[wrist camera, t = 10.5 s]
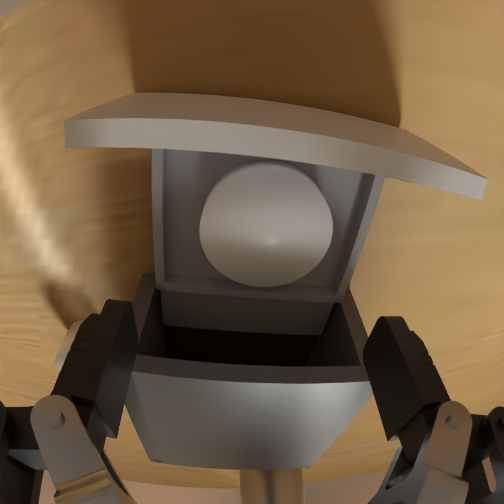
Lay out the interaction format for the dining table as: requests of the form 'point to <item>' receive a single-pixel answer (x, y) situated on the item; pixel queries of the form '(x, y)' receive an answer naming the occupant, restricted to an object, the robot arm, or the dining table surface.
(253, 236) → the white domed disc
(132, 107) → the disc tray
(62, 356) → the white rounded piece
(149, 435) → the box
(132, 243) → the dining table surface
